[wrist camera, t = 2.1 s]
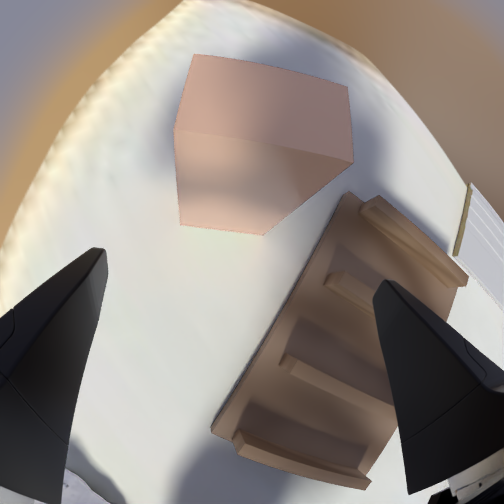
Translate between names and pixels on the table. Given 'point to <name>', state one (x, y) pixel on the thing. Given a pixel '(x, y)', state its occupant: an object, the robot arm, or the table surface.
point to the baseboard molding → (482, 245)
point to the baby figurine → (77, 491)
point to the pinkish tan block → (255, 143)
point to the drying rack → (336, 350)
